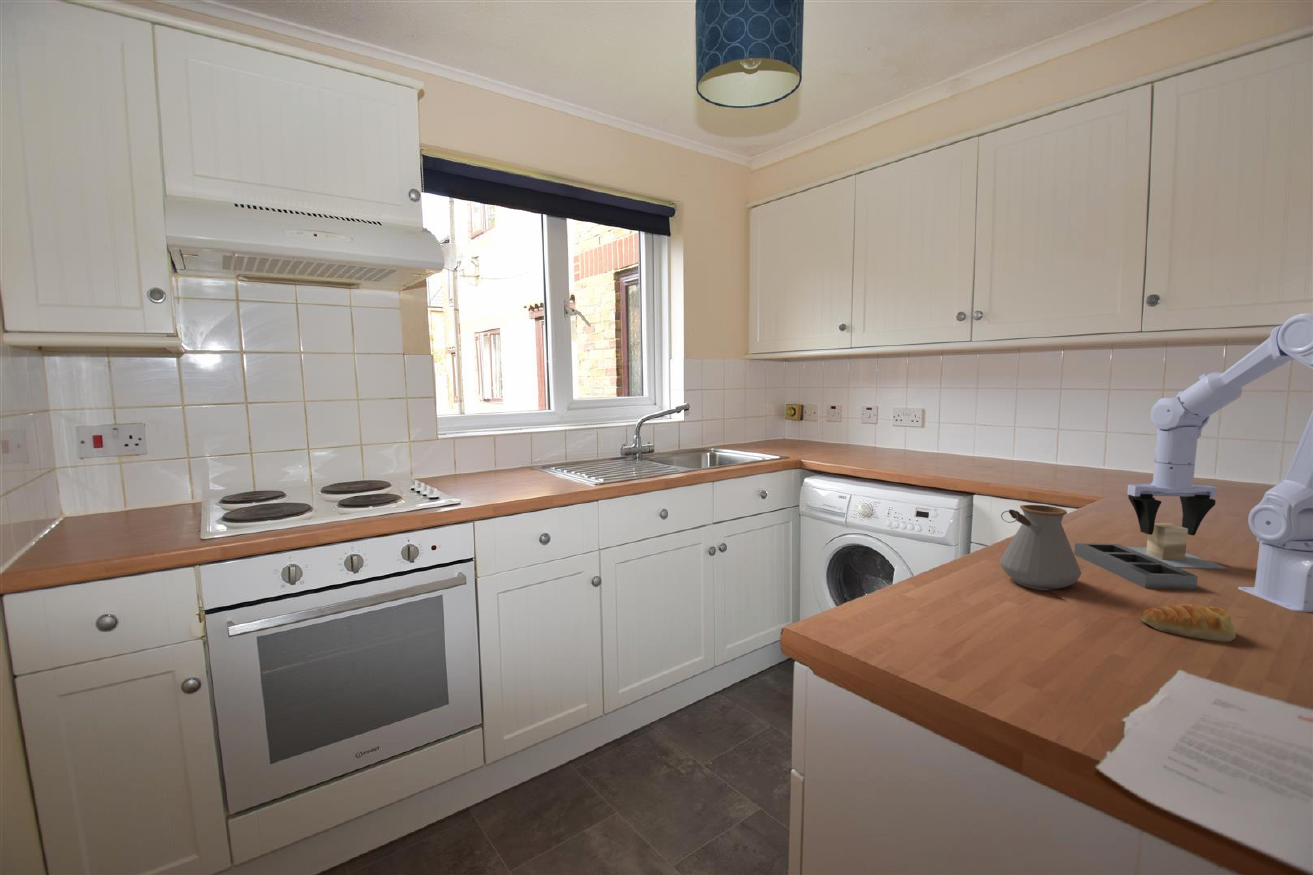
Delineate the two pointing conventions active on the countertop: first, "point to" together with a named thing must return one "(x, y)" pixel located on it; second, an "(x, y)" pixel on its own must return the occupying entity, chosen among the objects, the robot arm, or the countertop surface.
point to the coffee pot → (1040, 550)
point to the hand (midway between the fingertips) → (1167, 533)
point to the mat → (1183, 561)
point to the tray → (1136, 566)
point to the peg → (1167, 542)
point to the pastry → (1192, 621)
